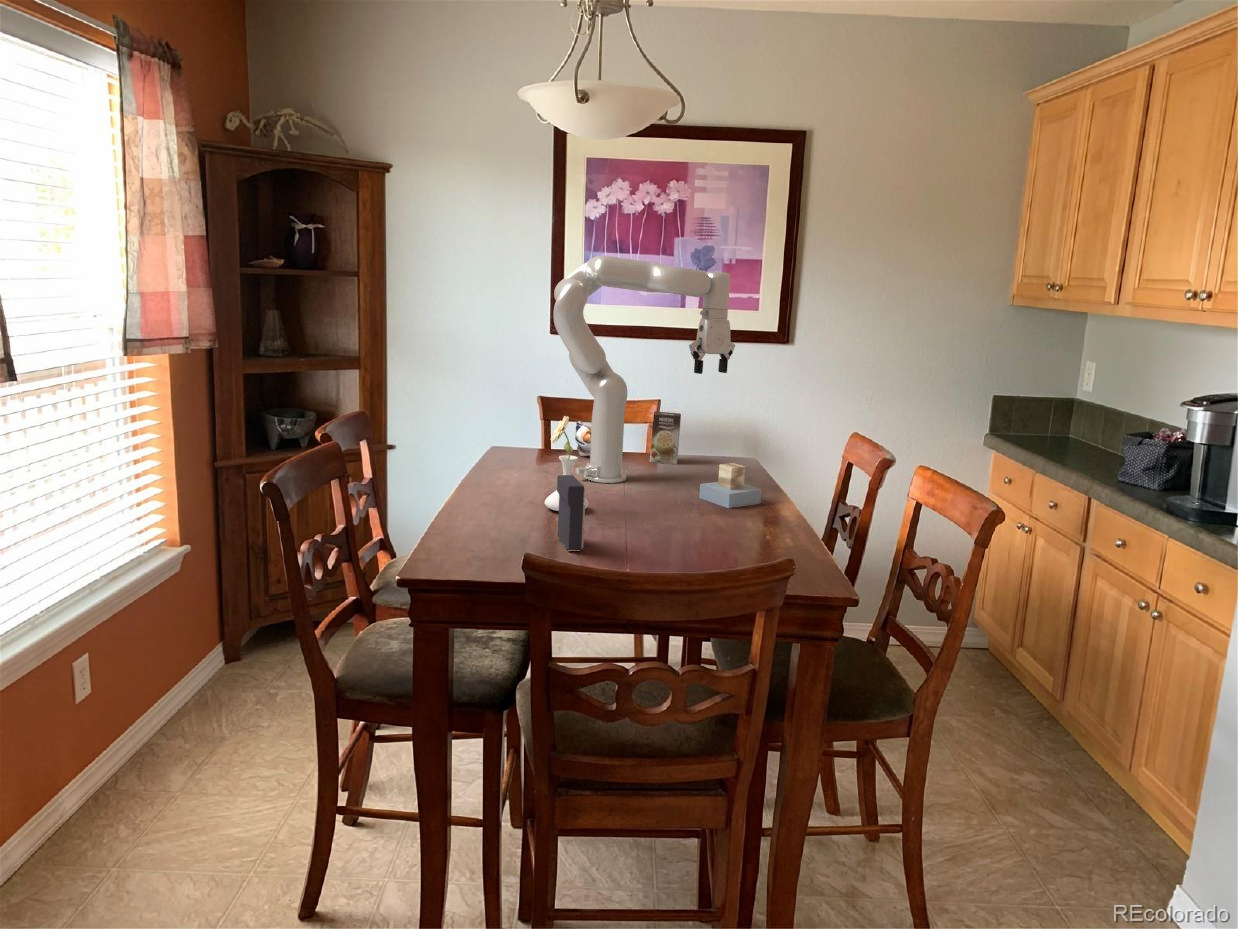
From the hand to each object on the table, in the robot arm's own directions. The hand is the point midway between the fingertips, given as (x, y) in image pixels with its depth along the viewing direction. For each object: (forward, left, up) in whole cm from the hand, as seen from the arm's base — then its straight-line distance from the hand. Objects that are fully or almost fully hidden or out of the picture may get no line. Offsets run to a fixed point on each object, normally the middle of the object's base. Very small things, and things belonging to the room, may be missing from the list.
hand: (710, 372), depth 271 cm
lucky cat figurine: (-13, +40, -33) cm, 53 cm away
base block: (-11, -24, -32) cm, 42 cm away
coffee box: (+4, +24, -32) cm, 41 cm away
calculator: (-73, -38, -32) cm, 88 cm away
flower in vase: (-58, -13, -32) cm, 68 cm away
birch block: (-11, -24, -28) cm, 39 cm away
